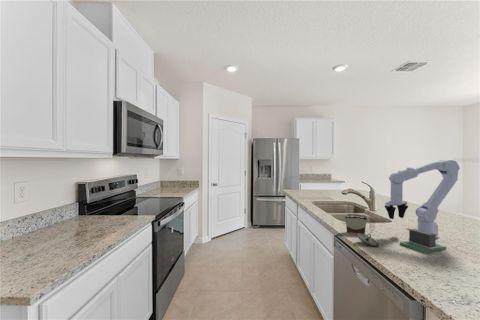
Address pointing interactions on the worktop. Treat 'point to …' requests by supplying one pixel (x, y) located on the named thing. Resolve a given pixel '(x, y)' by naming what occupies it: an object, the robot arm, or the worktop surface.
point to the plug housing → (422, 237)
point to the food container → (355, 223)
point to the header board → (422, 247)
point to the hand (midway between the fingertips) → (396, 218)
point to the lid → (368, 240)
